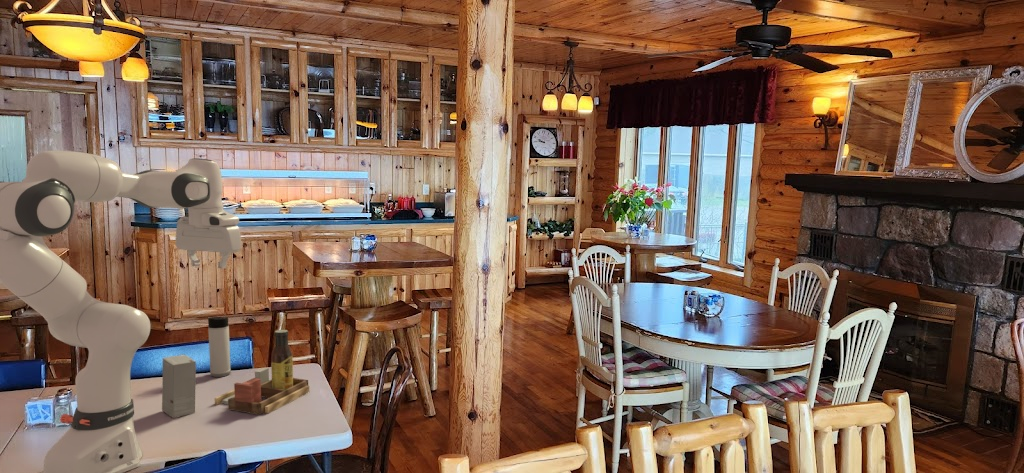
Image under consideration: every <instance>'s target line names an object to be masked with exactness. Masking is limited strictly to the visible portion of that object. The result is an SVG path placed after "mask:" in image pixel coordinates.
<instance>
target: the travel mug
mask: <svg viewBox="0 0 1024 473" xmlns="http://www.w3.org/2000/svg"><path fill="white" fill-rule="evenodd" d="M207 323H208V327H207V328H208V330H207V331H208V346H209V347H208V351H209V354H208V355H209V370H210V371H209V372H210V377H213V378H223V377H227V376H229V375H230V374H231V373H232V372H231V370H232V369H231V350H230V348H231V346H230V326H229V325H230V324H229V317H227V316H226V317H221V316H215V317H214V316H212V317H208V318H207Z"/></svg>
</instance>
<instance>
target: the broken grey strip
mask: <svg viewBox="0 0 1024 473" xmlns="http://www.w3.org/2000/svg"><path fill="white" fill-rule="evenodd" d="M269 373H270V370H269V367H262V368H260V369H259V368H258V369H257V370H255V371H254V378H257V379H261V384H263V383H265V382H267V381H269V380H270V374H269ZM234 396H235V395H233V396H230V397H228V398H226V399H224V400H222V403H221V404H223V403H224V404H225V405H228V399H230V398H232V397H234Z"/></svg>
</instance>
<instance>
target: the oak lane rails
mask: <svg viewBox="0 0 1024 473" xmlns="http://www.w3.org/2000/svg"><path fill="white" fill-rule="evenodd" d="M308 392H309V393H310V385H308V386H305V387H303V388H301V389H299V390H297V391H295V392H293V393H291V394H289V395H287V396H285V397H283V398H281V399H279V400H277V401H275V402H273V403H271V404H269V405H267V406H265V412H264V414H270V413H272V412H274V411H276V410H278V409H280V408H281V407H284V406H286V405H287V404H290V403H291V402H293V401H295V400H297V399H298V398H301V397H303V396H305V395H307V394H309V393H308ZM306 393H307V394H306ZM233 395H235V390H234V389H232V390H229V391H227V392H225V393H223V394H221V395H218V396H215V397H214V405H215V406H218V404H219V405H220V404H223V403H222V400H224V399H226V398H228V397H230V396H233ZM302 395H303V396H302Z"/></svg>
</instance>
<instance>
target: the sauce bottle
mask: <svg viewBox="0 0 1024 473" xmlns="http://www.w3.org/2000/svg"><path fill="white" fill-rule="evenodd" d="M288 336H289V330H287V329H279V330H278V329H276V330H274V337H275V338H274V339H275V340H274V345H275V346H274V348H272V351H271V361H270V362H271V380H272V388H277V389H283V390H286V389H288V388H290V387H292V386H293V378H294V371H293V370H294V369H293V368H294V367H293V366H294V365H293V363H294V360H293V358H294V357H293V356H294V355H293V353H292V350H291V348H290V345H289V337H288Z"/></svg>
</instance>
